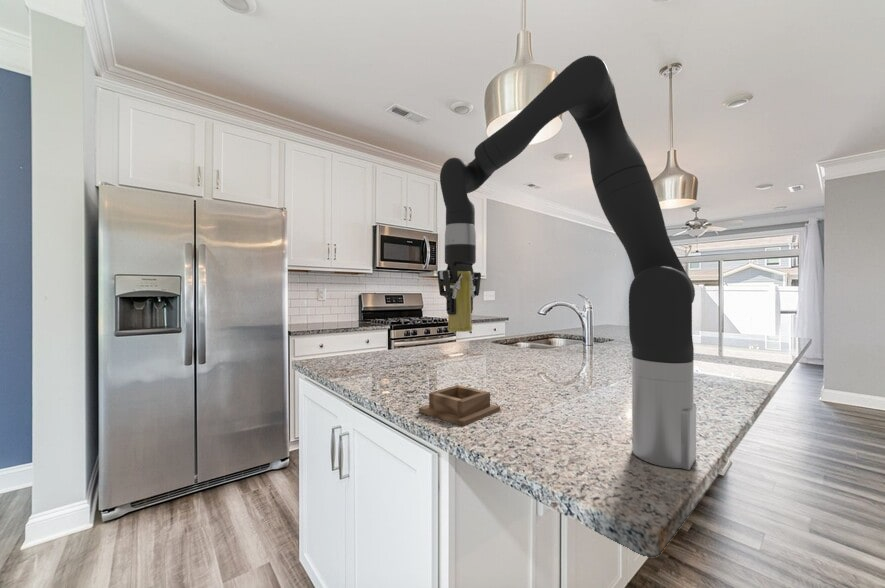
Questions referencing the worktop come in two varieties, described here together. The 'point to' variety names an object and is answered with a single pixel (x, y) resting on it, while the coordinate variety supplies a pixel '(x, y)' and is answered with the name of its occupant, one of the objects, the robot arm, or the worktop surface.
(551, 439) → the worktop surface
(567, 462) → the worktop surface
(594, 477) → the worktop surface
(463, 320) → the vase
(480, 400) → the socket block
